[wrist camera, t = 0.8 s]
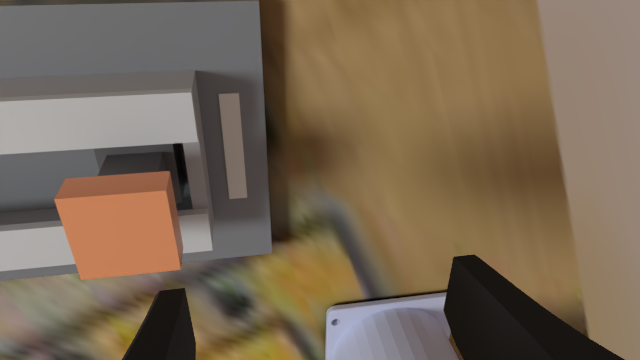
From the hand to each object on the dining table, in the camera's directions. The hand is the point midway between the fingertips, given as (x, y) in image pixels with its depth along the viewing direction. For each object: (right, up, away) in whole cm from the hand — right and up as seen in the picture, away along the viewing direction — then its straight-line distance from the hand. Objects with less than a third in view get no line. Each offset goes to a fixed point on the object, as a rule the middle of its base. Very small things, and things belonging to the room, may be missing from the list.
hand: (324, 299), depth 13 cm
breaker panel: (-11, +5, +7) cm, 14 cm away
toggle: (-7, +4, +7) cm, 11 cm away
